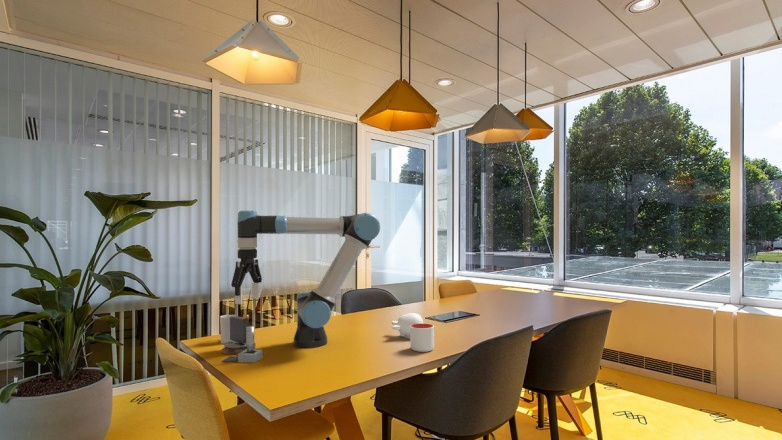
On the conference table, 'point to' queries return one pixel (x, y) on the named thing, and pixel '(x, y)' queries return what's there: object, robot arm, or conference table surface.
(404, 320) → the piggy bank
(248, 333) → the rod
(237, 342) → the lever on round base
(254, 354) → the eye block
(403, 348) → the conference table surface
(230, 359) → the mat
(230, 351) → the plinth
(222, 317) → the mug
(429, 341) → the cup
